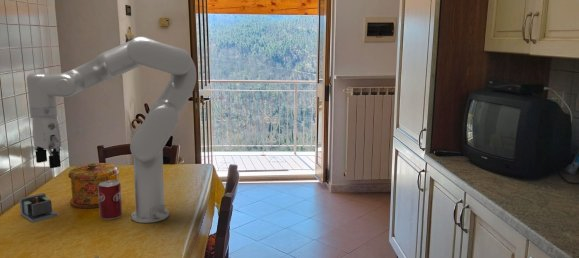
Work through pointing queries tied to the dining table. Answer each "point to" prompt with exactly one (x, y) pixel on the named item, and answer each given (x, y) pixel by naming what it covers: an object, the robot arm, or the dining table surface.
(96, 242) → the dining table surface
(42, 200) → the grey desk caddy
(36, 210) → the blue-grey small box
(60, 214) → the dining table surface
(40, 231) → the dining table surface
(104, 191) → the soda can
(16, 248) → the dining table surface
